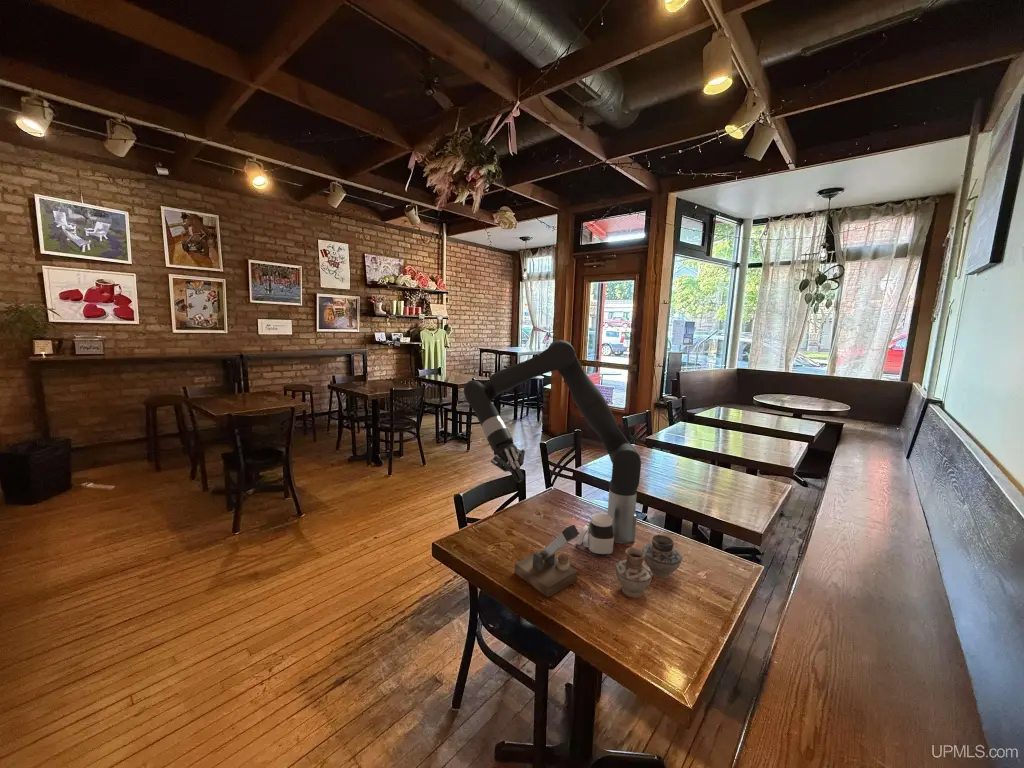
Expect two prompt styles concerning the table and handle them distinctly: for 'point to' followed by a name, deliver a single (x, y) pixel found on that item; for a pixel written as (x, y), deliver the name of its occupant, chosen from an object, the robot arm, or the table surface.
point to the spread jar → (599, 535)
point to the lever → (560, 542)
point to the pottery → (656, 557)
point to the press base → (546, 572)
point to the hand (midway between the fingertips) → (520, 480)
